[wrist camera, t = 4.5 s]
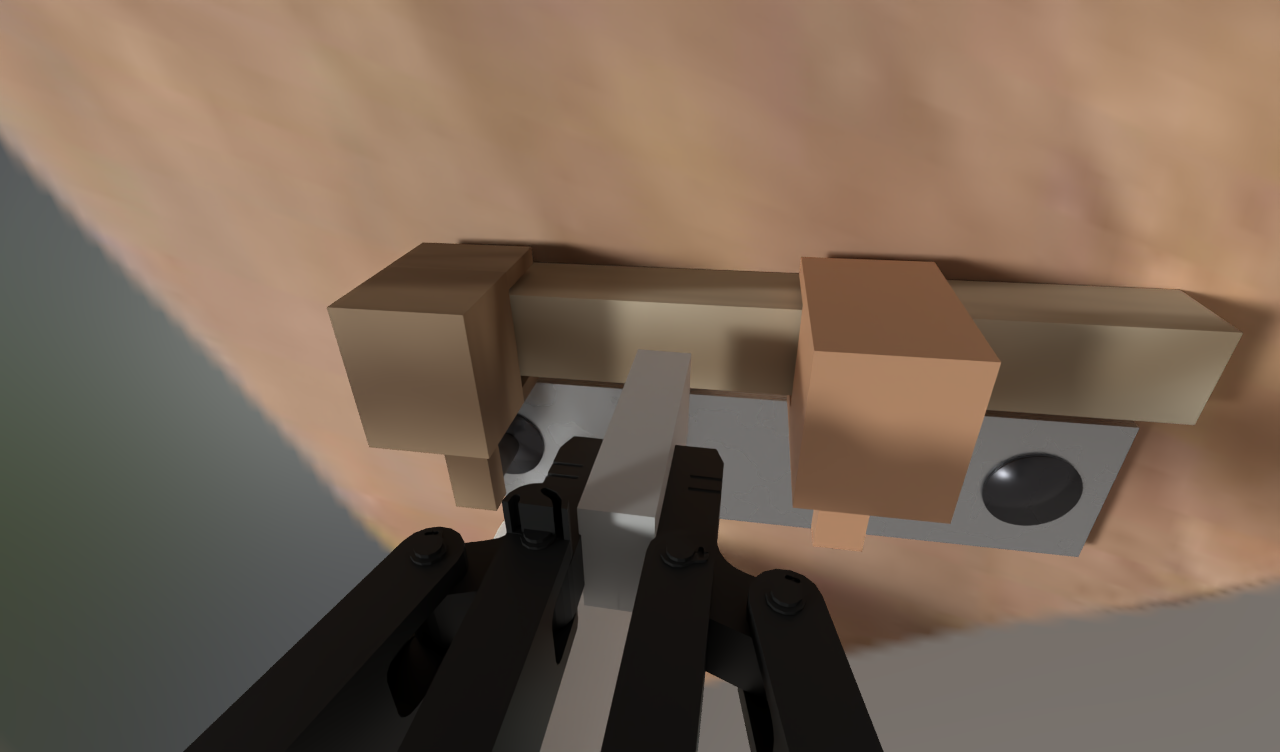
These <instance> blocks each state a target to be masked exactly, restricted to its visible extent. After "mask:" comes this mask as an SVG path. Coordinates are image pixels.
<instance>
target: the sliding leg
mask: <svg viewBox="0 0 1280 752" xmlns="http://www.w3.org/2000/svg"><path fill="white" fill-rule="evenodd" d="M799 278H800V286H801V294H802V302H803V307H802V315H801V324H800V332H799V340H798V348H797V356H796V365H795V373H794V381H793V389H792V395H787V408H788V427H789V447H790V467H791V486H792V506H793V508H800V509H810V510H814V511H813V517H812V523H811V530H812V542H813V546H816V547H825V548H834V549H843V550H852V551H861V552H862V548H863V544H864V539H865V535H866V530H867V526H868V521H869V517H870V516H878V517H888V518H898V519H908V520H917V521H927V522H937V523H947V524H951V520H952V517H953V514H954V511H955V508H956V505H957V501H958V498H959V495H960V492H961V489H962V486H963V482H964V479H965V476H966V473H967V470H968V466H969V463H970V460H971V457H972V454H973V451H974V447H975V444H976V441H977V438H978V435H979V432H980V428H981V425H982V422H983V419H984V416H985V413H986V409H987V406H988V403H989V400H990V397H991V394H992V390H993V387H994V384H995V381H996V378H997V374H998V371H999V368H1000V365H1001V361H1000V360H999V358H998V357H997V355H996V354H995V352H994V351H993V349H992V348H991V346H990V345H989V343H988V342H987V340H986V339H985V337H984V336H983V334H982V333H981V331H980V330H979V328H978V327H977V325H976V324H975V322H974V321H973V319H972V318H971V316H970V315H969V313H968V312H967V310H966V309H965V307H964V306H963V304H962V303H961V301H960V300H959V298H958V297H957V295H956V294H955V292H954V291H953V289H952V288H951V286H950V285H949V283H948V282H947V280H946V279H945V277H944V276H943V274H942V273H941V271H940V270H939V268H938V267H937V265H936V264H935V262H920V261H894V260H867V259H841V258H815V257H801V263H800V272H799Z"/></svg>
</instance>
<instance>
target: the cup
mask: <svg viewBox="0 0 1280 752" xmlns="http://www.w3.org/2000/svg"><path fill="white" fill-rule="evenodd" d="M505 534H506V525H505V520H504V521H503V523H502V524H501V526H500V527H499V529H498V531H497V533H496V535H495V536H494V538H493V539H496V538H499V537H502V536H504V535H505ZM577 609H578V628H577V631H576V635H575V638H574V641H573V644H572V648H571V651H570V654H569V658H568V661H567V664H566V667H565V671H564V674H563V677H562V680H561V684H560V687H559V690H558V694H557V697H556V700H555V703H554V707H553V710H552V713H551V717H550V720H549V723H548V726H547V730H546V733H545V736H544V740H543V743H542V746H541V749H540V752H601V747H602V743H603V739H604V734H605V730H606V725H607V721H608V717H609V712H610V708H611V703H612V699H613V695H614V690H615V686H616V681H617V677H618V673H619V668H620V664H621V660H622V655H623V651H624V646H625V642H626V638H627V633H628V629H629V624H630V620H631V616H632V612H628V611H621V610H614V609H607V608H600V607H593V606H586V605H584V596H583V592H582V595H581V598H580V601H579V604H578V607H577Z"/></svg>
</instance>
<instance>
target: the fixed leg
mask: <svg viewBox="0 0 1280 752" xmlns="http://www.w3.org/2000/svg"><path fill="white" fill-rule="evenodd" d="M532 264H533V258H532V249H531V247H525V246H498V245H472V244H446V243H422V244H420V245H419V246H417V247H416V248H414V249H413V250H411V251H410V252H408V253H407V254H405V255H404V256H402V257H401V258H399V259H398V260H396V261H395V262H393V263H392V264H390V265H389V266H387V267H386V268H384V269H383V270H381V271H380V272H378V273H377V274H376V275H374V276H373V277H371V278H370V279H368V280H367V281H365V282H364V283H362V284H361V285H359V286H358V287H356V288H355V289H353V290H352V291H350V292H349V293H347V294H346V295H344V296H343V297H341V298H340V299H338V300H337V301H335V302H334V303H332V304H331V305H330V306H328V307H327V310H328V313H329V316H330V320H331V323H332V326H333V330H334V333H335V336H336V339H337V343H338V346H339V349H340V353H341V356H342V359H343V363H344V366H345V369H346V372H347V376H348V379H349V382H350V386H351V389H352V392H353V395H354V399H355V402H356V405H357V409H358V412H359V415H360V418H361V422H362V425H363V428H364V432H365V435H366V438H367V441H368V445H369V447H372V448H383V449H393V450H403V451H413V452H424V453H434V454H444V455H445V459H446V463H447V468H448V472H449V476H450V481H451V485H452V490H453V494H454V498H455V503H456V506H457V507H466V508H475V509H484V510H493V511H497V509H498V508H499V506H500V504H501V502H502V500H503V498H504V496H505V495H506V488H505V482H504V475H505V474H506V472H507V470H508V468H509V467H510V465H511V463H512V461H513V460H514V458H515V456H516V454H517V452H518V451H519V444H518V442H517V440H516V439H515V438H514V437H513V436H511V435H510V434H507V433H506V431H507V429H508V428H509V426H510V424H511V423H512V421H513V420H514V418H515V416H516V415H517V413H518V412H519V410H520V408H521V407H522V405H523V403H524V402H525V400H526V399H527V397H528V395H529V394H530V392H531V391H532V389H533V387H534V386H535V384H536V383H537V381H538V379H539V378H540V377H534V376H520V368H519V361H518V354H517V347H516V340H515V333H514V325H513V318H512V311H511V304H510V297H509V289H510V288H511V287H512V286H513V285H514V284H515V283H516V281H517V280H518V279H519V278H520V277H521V276H522V275H523V274H524V273H525V272H526V271H527V270H528V269H529V267H530V266H531V265H532Z"/></svg>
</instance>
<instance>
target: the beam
mask: <svg viewBox="0 0 1280 752" xmlns="http://www.w3.org/2000/svg"><path fill="white" fill-rule="evenodd" d="M947 282H948V283H949V285H950V286H951V288H952V289H953V291H954V292H955V294H956V295H957V297H958V298H959V300H960V301H961V303H962V304H963V306H964V307H965V309H966V310H967V312H968V313H969V315H970V316H971V318H972V319H973V321H974V322H975V324H976V325H977V327H978V328H979V330H980V331H981V333H982V334H983V336H984V337H985V339H986V340H987V342H988V343H989V345H990V346H991V348H992V349H993V351H994V352H995V354H996V355H997V357H998V358H999V360H1000V361H1001V365H1000V368H999V371H998V374H997V378H996V381H995V384H994V387H993V390H992V394H991V397H990V400H989V403H988V406H987V409H986V410H996V411H1010V412H1024V413H1037V414H1051V415H1064V416H1078V417H1092V418H1105V419H1119V420H1132V421H1146V422H1160V423H1173V424H1187V425H1195V423H1196V421H1197V419H1198V418H1199V416H1200V414H1201V412H1202V410H1203V408H1204V406H1205V404H1206V402H1207V401H1208V399H1209V397H1210V395H1211V393H1212V391H1213V389H1214V387H1215V385H1216V384H1217V382H1218V380H1219V378H1220V376H1221V374H1222V372H1223V370H1224V368H1225V366H1226V365H1227V363H1228V361H1229V359H1230V357H1231V355H1232V353H1233V351H1234V349H1235V348H1236V346H1237V344H1238V342H1239V340H1240V338H1241V336H1242V334H1243V332H1241V331H1240V330H1239V329H1237V328H1236V327H1234V326H1233V325H1231V324H1230V323H1228V322H1227V321H1225V320H1224V319H1222V318H1221V317H1219V316H1218V315H1216V314H1215V313H1213V312H1212V311H1210V310H1209V309H1207V308H1206V307H1205V306H1203V305H1202V304H1200V303H1199V302H1197V301H1196V300H1194V299H1193V298H1191V297H1190V296H1188V295H1187V294H1185V293H1184V292H1182V291H1181V290H1176V289H1152V288H1128V287H1105V286H1081V285H1057V284H1034V283H1010V282H986V281H962V280H947ZM509 297H510V304H511V311H512V318H513V325H514V333H515V340H516V347H517V354H518V361H519V368H520V376H534V377H547V378H561V379H575V380H588V381H602V382H615V383H625V382H626V379H627V377H628V374H629V371H630V369H631V366H632V364H633V361H634V358H635V356H636V353H637V351H638V349H641V350H654V351H667V352H679V353H691V371H690V388H697V389H711V390H724V391H738V392H752V393H765V394H779V395H792V389H793V381H794V373H795V365H796V356H797V348H798V340H799V332H800V324H801V315H802V307H803V302H802V294H801V286H800V278H799V274H797V273H773V272H749V271H726V270H702V269H678V268H655V267H631V266H607V265H584V264H560V263H536V262H533V264H532V265H531V266H530V267H529V269H528V270H527V271H526V272H525V273H524V274H523V275H522V276H521V277H520V278H519V279H518V280H517V281H516V283H515V284H514V285H513V286H512V287H511V288H510V289H509Z"/></svg>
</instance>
